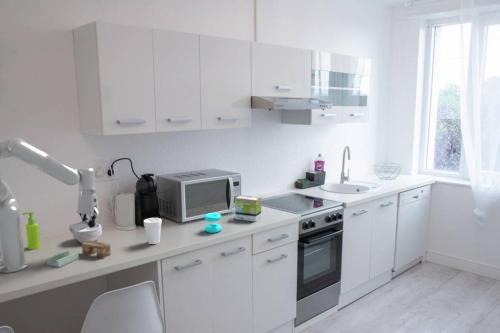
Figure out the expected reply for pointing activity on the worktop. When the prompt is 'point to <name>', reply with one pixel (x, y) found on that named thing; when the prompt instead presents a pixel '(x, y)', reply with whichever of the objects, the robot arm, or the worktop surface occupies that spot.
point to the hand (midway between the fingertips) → (88, 226)
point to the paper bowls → (88, 234)
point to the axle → (80, 226)
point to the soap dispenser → (32, 232)
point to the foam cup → (153, 230)
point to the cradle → (62, 259)
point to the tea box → (248, 208)
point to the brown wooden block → (96, 248)
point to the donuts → (213, 218)
